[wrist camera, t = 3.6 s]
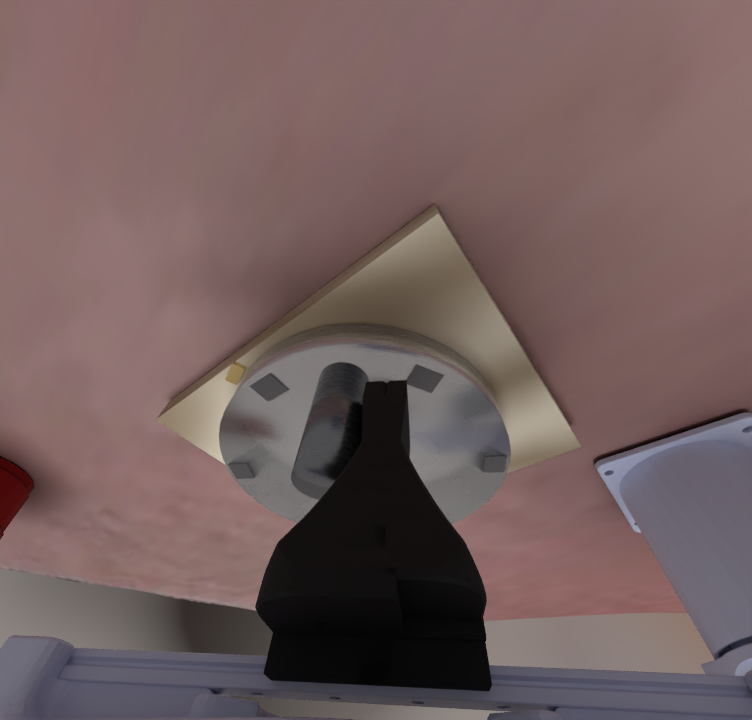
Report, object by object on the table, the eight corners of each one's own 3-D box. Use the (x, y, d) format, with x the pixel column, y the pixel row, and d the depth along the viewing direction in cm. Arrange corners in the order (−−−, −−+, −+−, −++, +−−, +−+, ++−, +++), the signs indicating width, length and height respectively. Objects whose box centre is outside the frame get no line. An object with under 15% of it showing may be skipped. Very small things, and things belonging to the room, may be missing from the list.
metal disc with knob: (488, 505, 22) (517, 630, 17) (278, 508, 23) (243, 624, 18) (517, 311, 14) (592, 439, 8) (188, 335, 15) (77, 456, 10)
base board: (570, 426, 20) (583, 450, 18) (336, 515, 27) (332, 537, 25) (434, 202, 13) (438, 213, 12) (169, 400, 20) (152, 422, 19)
